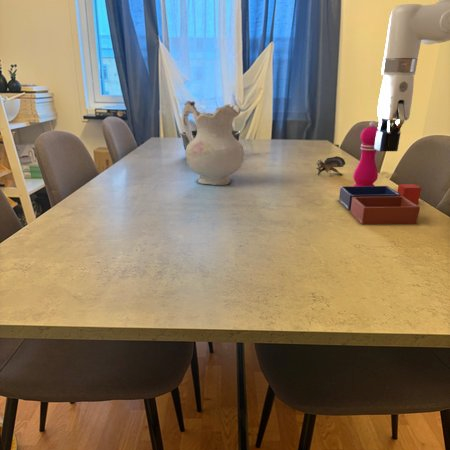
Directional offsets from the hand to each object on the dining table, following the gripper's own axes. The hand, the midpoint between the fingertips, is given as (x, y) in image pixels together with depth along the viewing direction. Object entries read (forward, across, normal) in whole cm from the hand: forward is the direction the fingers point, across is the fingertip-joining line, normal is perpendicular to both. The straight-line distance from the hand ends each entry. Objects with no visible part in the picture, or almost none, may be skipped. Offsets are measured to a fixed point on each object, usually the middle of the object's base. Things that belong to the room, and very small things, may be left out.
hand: (385, 148), depth 110 cm
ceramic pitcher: (+16, +35, +45) cm, 59 cm away
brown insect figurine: (+15, +43, +3) cm, 45 cm away
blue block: (0, 0, 0) cm, 0 cm away
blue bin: (+15, +2, +2) cm, 15 cm away
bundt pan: (+16, +87, +46) cm, 99 cm away
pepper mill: (+15, +19, -2) cm, 24 cm away
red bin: (+15, -10, +2) cm, 18 cm away
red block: (+15, +4, -10) cm, 19 cm away
